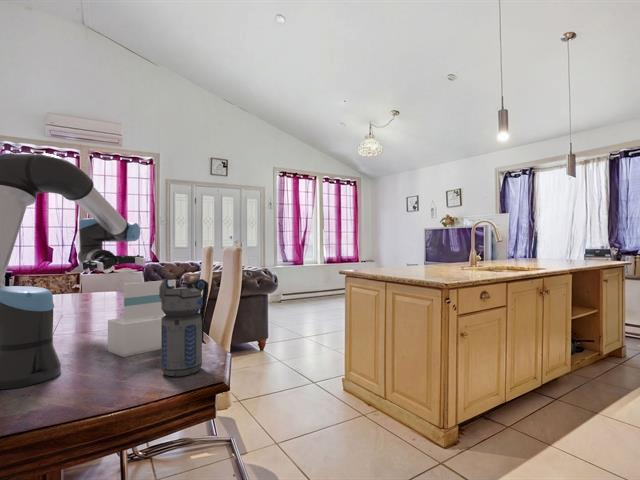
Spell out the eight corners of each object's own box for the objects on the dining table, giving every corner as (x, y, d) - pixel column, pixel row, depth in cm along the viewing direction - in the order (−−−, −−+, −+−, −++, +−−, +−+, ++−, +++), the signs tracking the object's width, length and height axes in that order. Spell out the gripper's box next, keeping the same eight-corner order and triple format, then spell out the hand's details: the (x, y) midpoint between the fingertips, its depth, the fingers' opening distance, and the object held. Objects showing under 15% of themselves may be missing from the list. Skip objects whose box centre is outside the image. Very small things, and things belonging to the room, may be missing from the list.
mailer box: (107, 350, 117) (107, 320, 117) (155, 340, 129) (155, 312, 130) (123, 357, 109) (123, 324, 110) (173, 346, 122) (173, 316, 122)
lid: (123, 283, 109) (124, 283, 109) (174, 279, 122) (175, 279, 122) (123, 320, 109) (124, 320, 109) (174, 312, 122) (175, 312, 122)
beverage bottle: (217, 368, 98) (216, 277, 98) (168, 382, 88) (168, 280, 89) (198, 361, 105) (198, 275, 106) (152, 372, 95) (152, 278, 96)
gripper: (135, 264, 148) (159, 270, 134) (63, 273, 129) (83, 280, 115) (134, 246, 147) (158, 250, 133) (61, 252, 128) (81, 257, 114)
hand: (123, 264), depth 124 cm, fingers open, 13 cm apart
